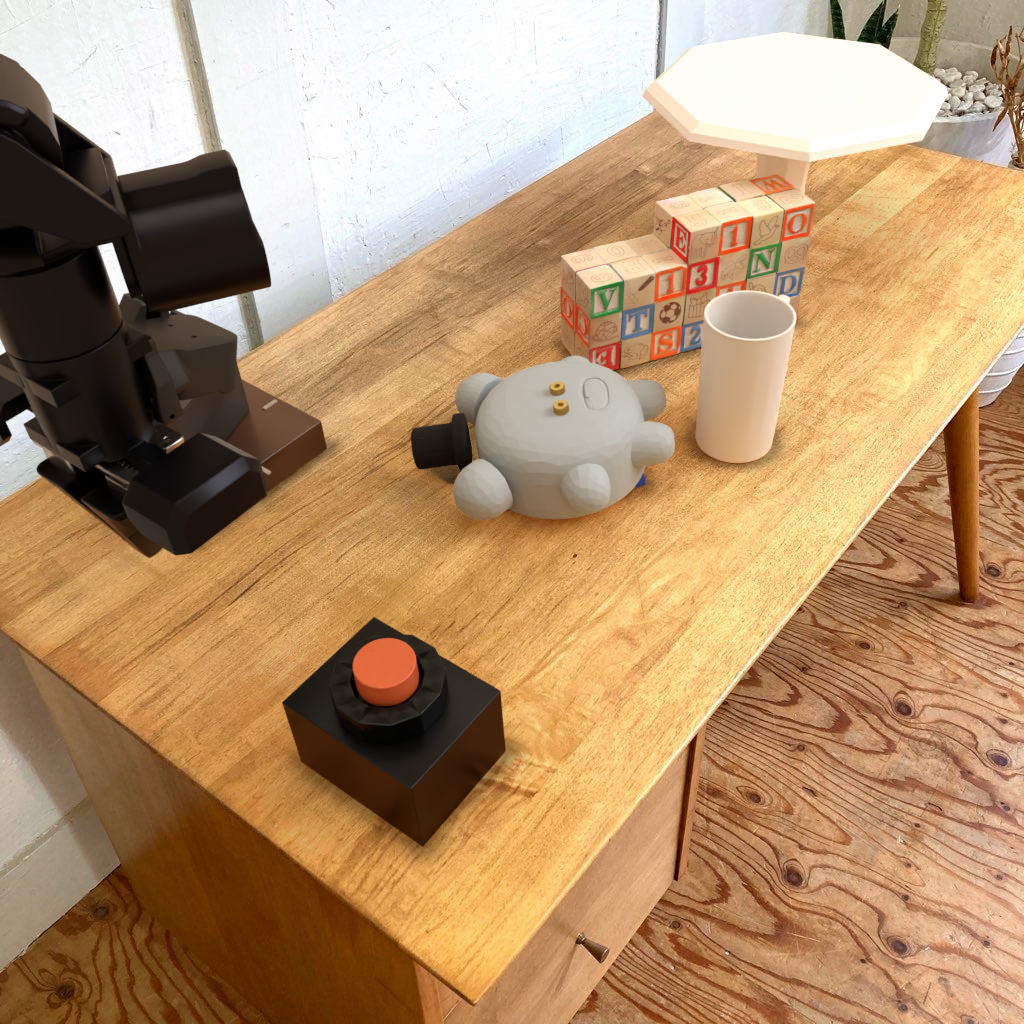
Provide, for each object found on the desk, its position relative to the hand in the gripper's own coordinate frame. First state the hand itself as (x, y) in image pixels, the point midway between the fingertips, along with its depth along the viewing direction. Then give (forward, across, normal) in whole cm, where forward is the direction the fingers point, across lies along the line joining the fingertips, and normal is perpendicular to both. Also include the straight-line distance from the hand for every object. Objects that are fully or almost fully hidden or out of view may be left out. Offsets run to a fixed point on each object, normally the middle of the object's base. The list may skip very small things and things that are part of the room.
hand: (152, 551), depth 62 cm
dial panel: (+12, +15, -15) cm, 24 cm away
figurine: (+12, -7, -30) cm, 33 cm away
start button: (+4, -15, -3) cm, 16 cm away
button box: (+12, -15, -3) cm, 20 cm away
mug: (+12, -18, -43) cm, 48 cm away
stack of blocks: (+12, -6, -53) cm, 54 cm away
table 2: (+12, -6, -72) cm, 73 cm away
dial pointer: (+9, +15, -15) cm, 23 cm away
